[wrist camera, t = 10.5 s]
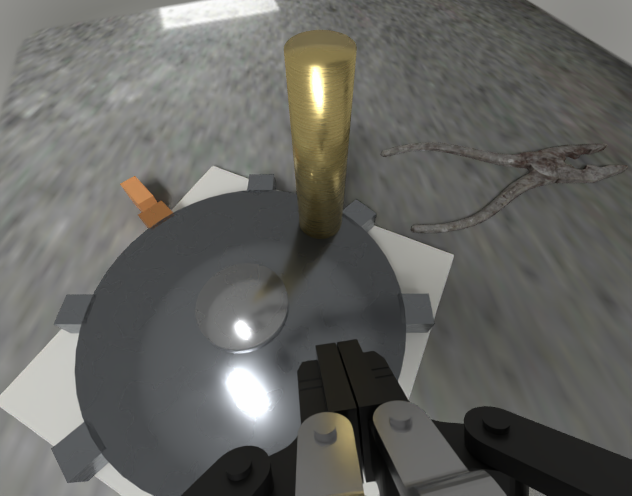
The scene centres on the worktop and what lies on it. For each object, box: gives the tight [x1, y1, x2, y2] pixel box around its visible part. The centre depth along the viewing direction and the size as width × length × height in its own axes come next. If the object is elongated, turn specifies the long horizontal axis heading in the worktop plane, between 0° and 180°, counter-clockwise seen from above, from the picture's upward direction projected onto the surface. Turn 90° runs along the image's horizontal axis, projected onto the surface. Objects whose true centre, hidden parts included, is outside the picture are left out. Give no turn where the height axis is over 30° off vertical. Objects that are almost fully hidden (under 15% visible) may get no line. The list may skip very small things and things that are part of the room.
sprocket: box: [51, 30, 435, 496], centre depth 15 cm, size 21×21×12 cm
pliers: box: [381, 143, 628, 233], centre depth 28 cm, size 10×1×20 cm
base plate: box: [0, 166, 454, 496], centre depth 21 cm, size 20×24×2 cm
